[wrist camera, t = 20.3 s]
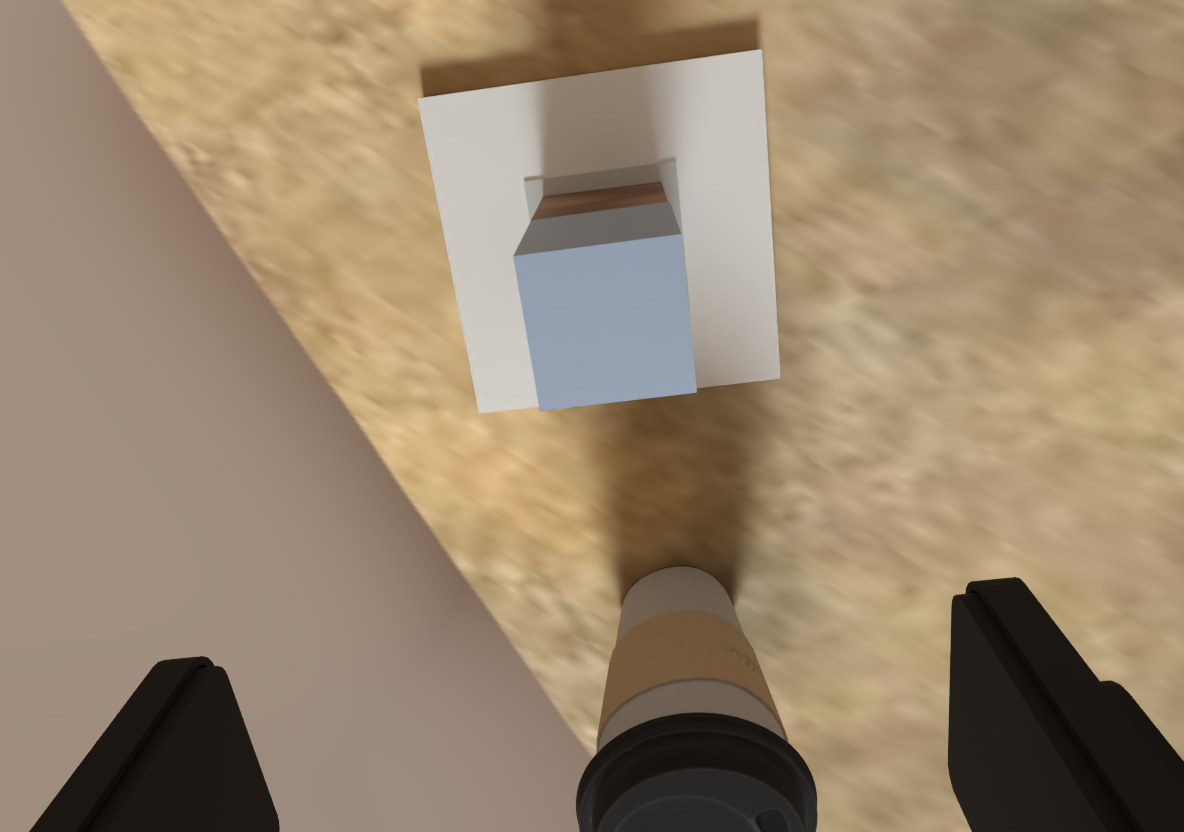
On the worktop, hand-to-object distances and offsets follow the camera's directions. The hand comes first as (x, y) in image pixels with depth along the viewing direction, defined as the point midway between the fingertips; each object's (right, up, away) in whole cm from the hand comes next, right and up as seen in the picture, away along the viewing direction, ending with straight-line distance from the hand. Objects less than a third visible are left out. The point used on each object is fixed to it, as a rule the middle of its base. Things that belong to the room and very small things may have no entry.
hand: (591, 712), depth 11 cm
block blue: (+1, +9, +21) cm, 23 cm away
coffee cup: (+4, -7, +36) cm, 36 cm away
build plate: (+1, +12, +28) cm, 30 cm away
